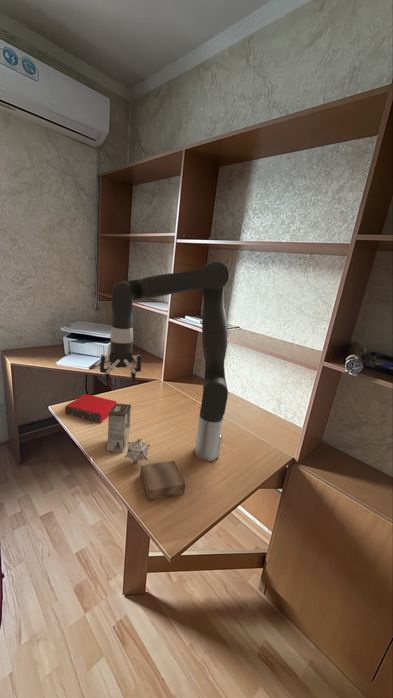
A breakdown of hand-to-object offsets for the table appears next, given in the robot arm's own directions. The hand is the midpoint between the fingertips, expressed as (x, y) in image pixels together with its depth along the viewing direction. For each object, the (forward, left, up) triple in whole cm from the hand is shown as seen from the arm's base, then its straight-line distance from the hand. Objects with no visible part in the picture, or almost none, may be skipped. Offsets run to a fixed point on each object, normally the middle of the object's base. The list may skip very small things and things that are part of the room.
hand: (120, 382), depth 107 cm
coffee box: (-1, -2, -28) cm, 28 cm away
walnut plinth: (-12, +23, -28) cm, 38 cm away
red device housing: (+8, -30, -28) cm, 42 cm away
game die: (-6, +10, -28) cm, 30 cm away
